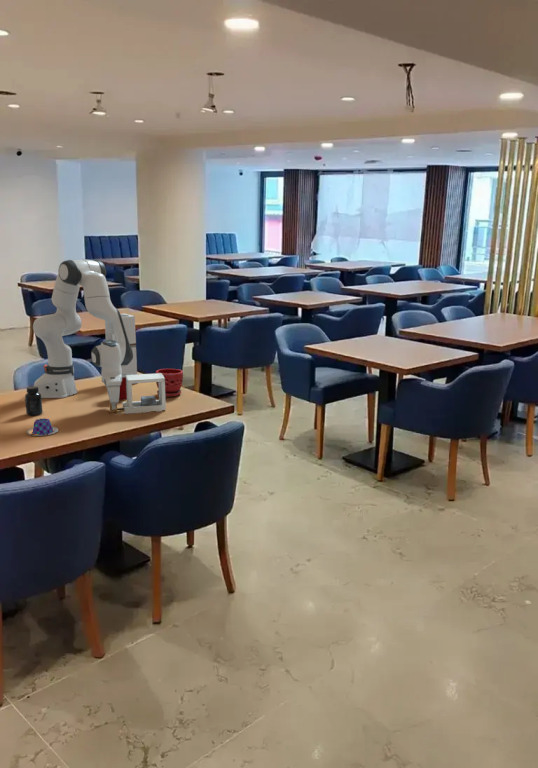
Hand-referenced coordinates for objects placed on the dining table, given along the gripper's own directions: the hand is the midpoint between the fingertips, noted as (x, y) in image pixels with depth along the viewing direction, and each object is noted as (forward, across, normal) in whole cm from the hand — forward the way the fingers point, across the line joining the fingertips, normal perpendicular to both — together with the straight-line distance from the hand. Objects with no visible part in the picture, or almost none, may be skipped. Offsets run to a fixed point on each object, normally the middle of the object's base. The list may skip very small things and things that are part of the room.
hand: (113, 407), depth 307 cm
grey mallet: (+1, 0, +8) cm, 9 cm away
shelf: (+2, 0, +13) cm, 14 cm away
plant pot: (+2, -22, +28) cm, 36 cm away
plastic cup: (+2, -21, +6) cm, 22 cm away
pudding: (+2, +22, -30) cm, 37 cm away
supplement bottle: (+2, -5, -34) cm, 34 cm away
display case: (+2, -51, +8) cm, 52 cm away
